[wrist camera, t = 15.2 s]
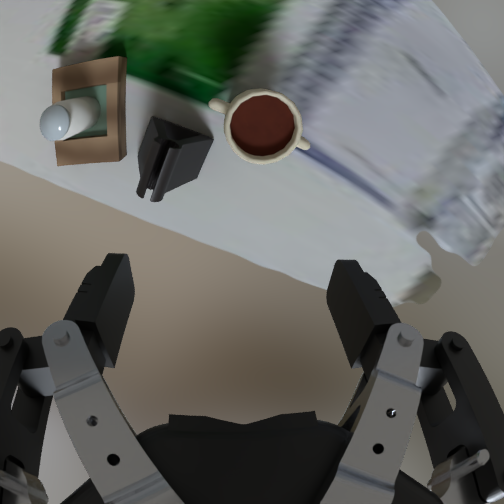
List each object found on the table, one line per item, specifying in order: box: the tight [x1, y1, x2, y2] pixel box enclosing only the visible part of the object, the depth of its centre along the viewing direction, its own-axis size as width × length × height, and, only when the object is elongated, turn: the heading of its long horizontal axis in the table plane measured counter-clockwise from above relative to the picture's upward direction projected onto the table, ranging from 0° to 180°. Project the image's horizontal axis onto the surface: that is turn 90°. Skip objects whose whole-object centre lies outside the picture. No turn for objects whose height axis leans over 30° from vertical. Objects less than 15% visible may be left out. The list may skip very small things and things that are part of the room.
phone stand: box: [136, 117, 214, 202], centre depth 31 cm, size 9×6×12 cm, turn 64°
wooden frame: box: [52, 56, 127, 166], centre depth 30 cm, size 14×10×3 cm
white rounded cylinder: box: [40, 96, 101, 141], centre depth 26 cm, size 5×5×8 cm
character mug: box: [209, 88, 310, 165], centre depth 29 cm, size 11×7×13 cm, turn 65°
